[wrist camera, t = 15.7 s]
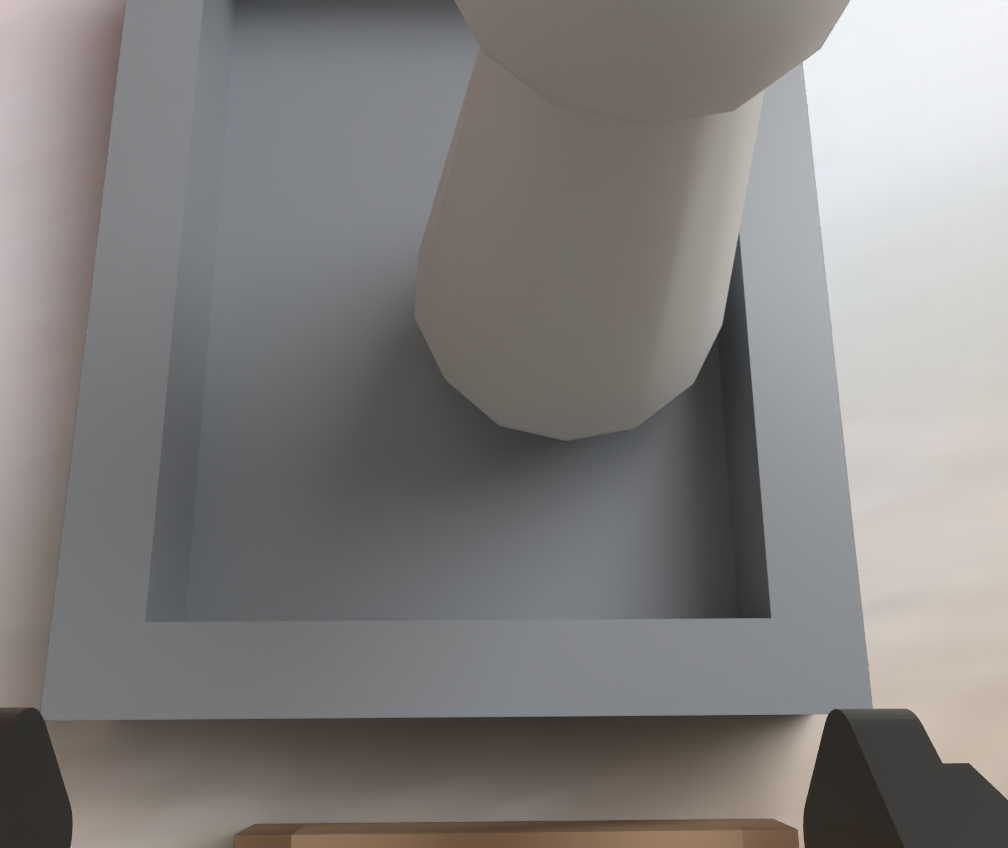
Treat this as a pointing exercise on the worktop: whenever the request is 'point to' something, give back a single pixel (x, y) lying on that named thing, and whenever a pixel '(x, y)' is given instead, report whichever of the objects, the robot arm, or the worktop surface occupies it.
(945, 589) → the worktop surface
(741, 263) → the tray
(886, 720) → the robot arm
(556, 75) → the salt shaker
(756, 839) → the wooden square frame
